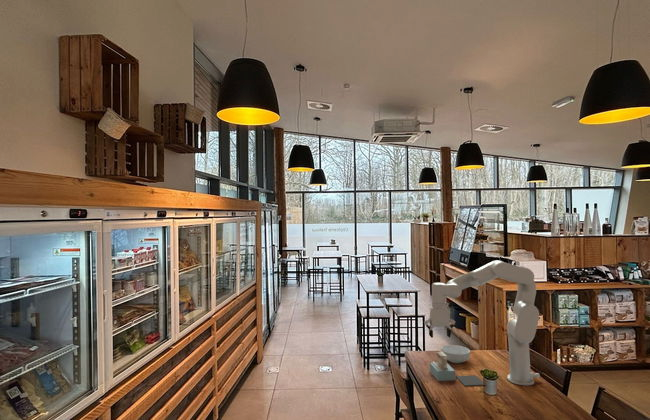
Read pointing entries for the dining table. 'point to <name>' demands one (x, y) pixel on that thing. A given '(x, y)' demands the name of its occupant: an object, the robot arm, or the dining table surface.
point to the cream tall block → (441, 360)
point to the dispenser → (442, 372)
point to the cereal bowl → (456, 353)
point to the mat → (470, 380)
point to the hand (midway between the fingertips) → (440, 336)
